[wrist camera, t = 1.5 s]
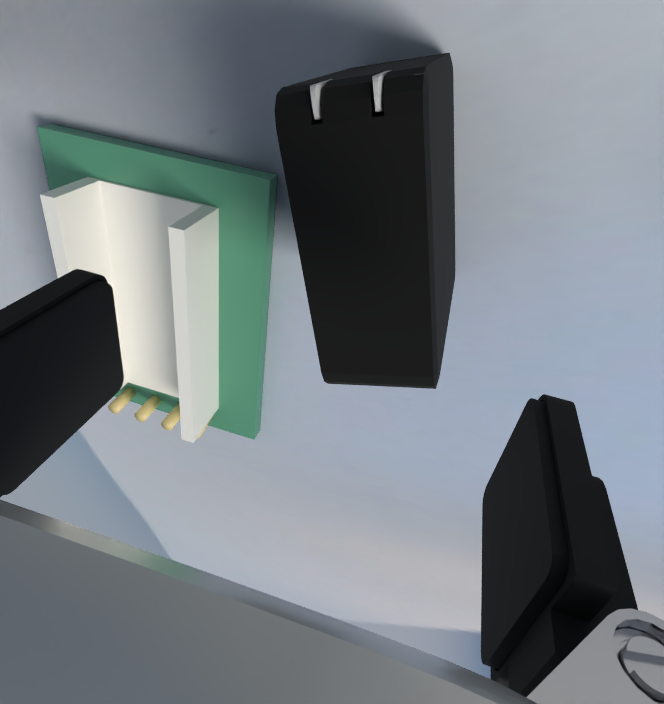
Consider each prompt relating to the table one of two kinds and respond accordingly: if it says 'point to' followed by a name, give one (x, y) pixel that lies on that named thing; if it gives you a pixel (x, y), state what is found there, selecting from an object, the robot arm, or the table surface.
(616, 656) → the robot arm
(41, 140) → the board
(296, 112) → the electronic device
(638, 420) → the table surface
